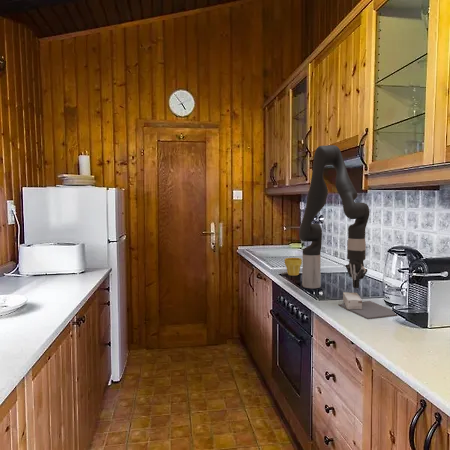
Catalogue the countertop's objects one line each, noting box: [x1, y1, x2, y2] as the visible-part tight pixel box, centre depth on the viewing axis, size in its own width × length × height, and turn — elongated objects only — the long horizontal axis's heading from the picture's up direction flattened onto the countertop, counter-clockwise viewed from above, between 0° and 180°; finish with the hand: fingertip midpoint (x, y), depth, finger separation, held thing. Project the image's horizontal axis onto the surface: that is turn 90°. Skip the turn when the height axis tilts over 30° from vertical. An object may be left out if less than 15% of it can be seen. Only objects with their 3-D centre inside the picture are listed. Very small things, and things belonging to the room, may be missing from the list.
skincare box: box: [342, 291, 363, 310], centre depth 163 cm, size 6×4×12 cm
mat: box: [338, 300, 397, 320], centre depth 158 cm, size 20×16×1 cm
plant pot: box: [284, 257, 303, 277], centre depth 233 cm, size 10×10×10 cm
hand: (355, 287), depth 166 cm, fingers closed
